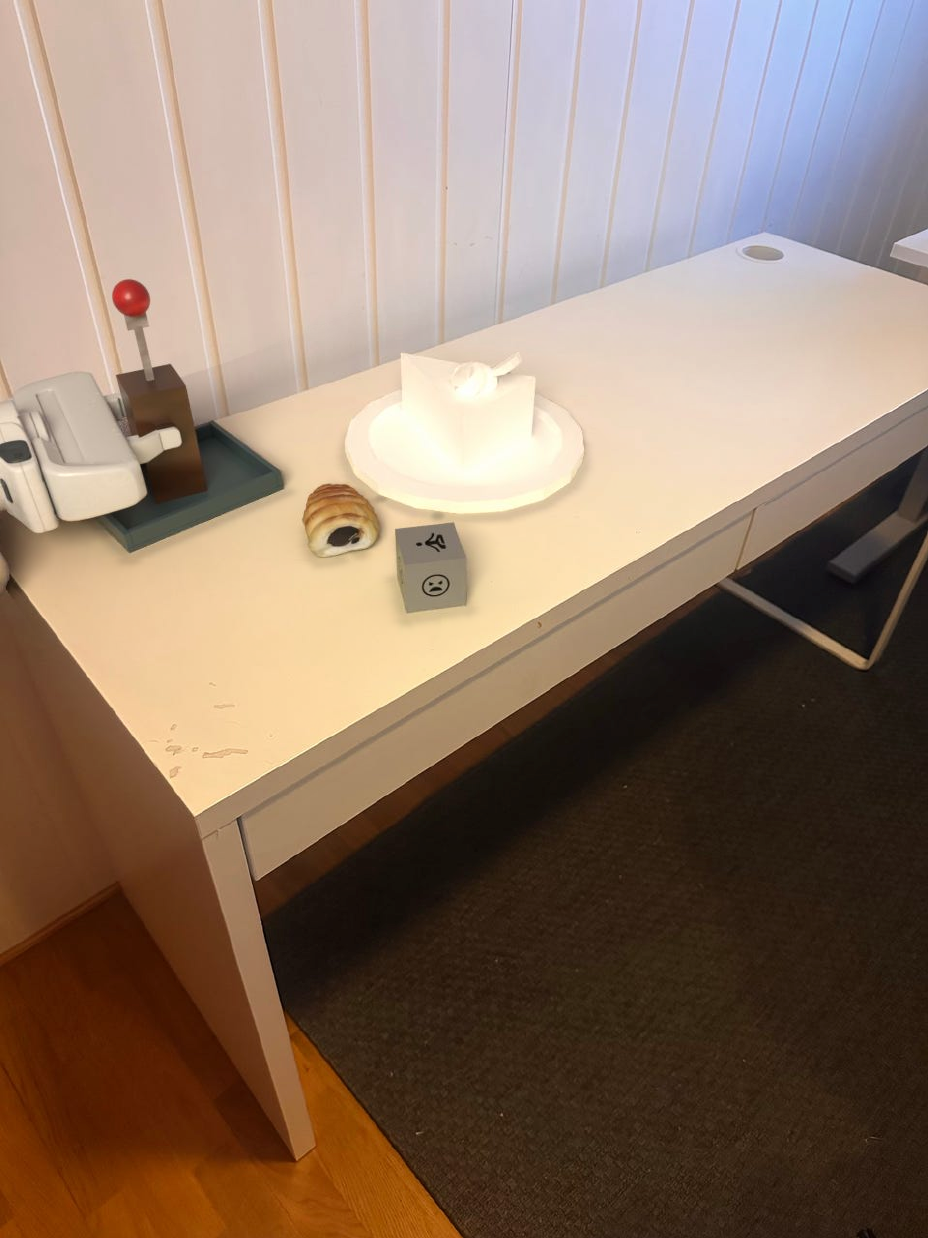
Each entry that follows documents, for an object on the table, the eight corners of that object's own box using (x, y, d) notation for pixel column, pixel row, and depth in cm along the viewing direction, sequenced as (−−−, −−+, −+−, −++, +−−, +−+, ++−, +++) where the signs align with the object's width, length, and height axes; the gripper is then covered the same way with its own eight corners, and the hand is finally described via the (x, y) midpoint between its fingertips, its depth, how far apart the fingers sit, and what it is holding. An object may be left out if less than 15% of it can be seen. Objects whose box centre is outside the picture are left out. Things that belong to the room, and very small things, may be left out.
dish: (629, 443, 95) (644, 342, 88) (472, 545, 81) (475, 435, 74) (458, 371, 107) (459, 277, 100) (296, 449, 93) (284, 346, 86)
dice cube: (465, 605, 75) (466, 557, 72) (406, 612, 74) (404, 565, 71) (453, 569, 78) (453, 522, 75) (397, 575, 78) (395, 528, 74)
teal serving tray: (129, 553, 80) (123, 535, 78) (67, 490, 87) (62, 473, 86) (284, 488, 88) (281, 471, 86) (215, 436, 95) (212, 419, 94)
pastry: (296, 504, 86) (292, 470, 83) (366, 495, 87) (364, 461, 85) (311, 562, 79) (307, 527, 76) (386, 551, 80) (384, 516, 78)
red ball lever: (155, 504, 84) (102, 296, 71) (142, 478, 88) (89, 275, 75) (207, 490, 86) (165, 285, 73) (192, 466, 90) (149, 265, 76)
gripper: (4, 433, 86) (147, 401, 92) (42, 545, 73) (207, 500, 78) (-19, 372, 82) (133, 342, 87) (17, 479, 69) (194, 436, 74)
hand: (169, 417), depth 83 cm, fingers closed on red ball lever, 5 cm apart
